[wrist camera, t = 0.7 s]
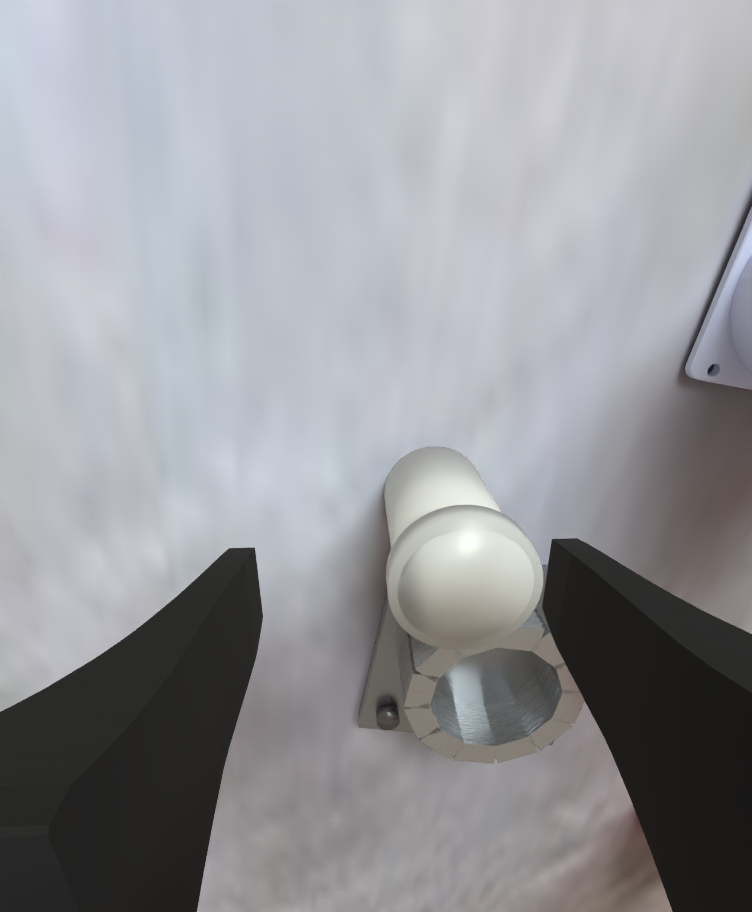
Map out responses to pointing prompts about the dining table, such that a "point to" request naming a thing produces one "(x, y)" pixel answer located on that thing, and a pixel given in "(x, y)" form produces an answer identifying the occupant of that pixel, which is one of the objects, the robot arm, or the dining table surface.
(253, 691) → the dining table surface
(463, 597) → the white knob
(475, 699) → the flange
